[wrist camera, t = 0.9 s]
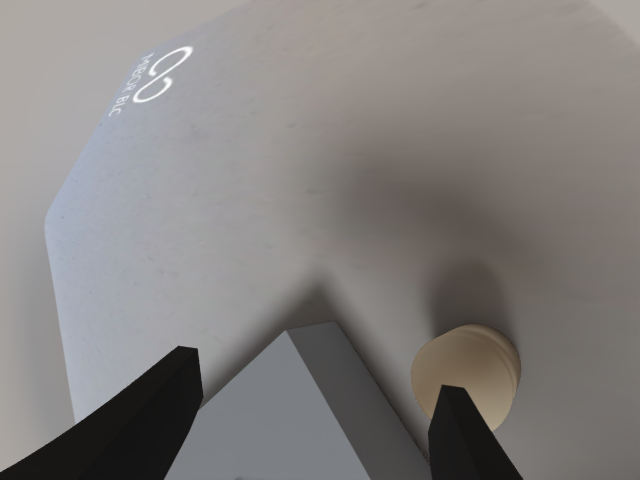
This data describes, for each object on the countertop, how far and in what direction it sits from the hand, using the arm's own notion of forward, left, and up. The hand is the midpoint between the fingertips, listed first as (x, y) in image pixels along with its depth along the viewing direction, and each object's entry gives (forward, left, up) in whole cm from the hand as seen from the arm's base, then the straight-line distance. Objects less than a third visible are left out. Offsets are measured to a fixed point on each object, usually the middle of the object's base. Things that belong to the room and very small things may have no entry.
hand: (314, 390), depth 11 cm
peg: (-2, -1, -13) cm, 13 cm away
